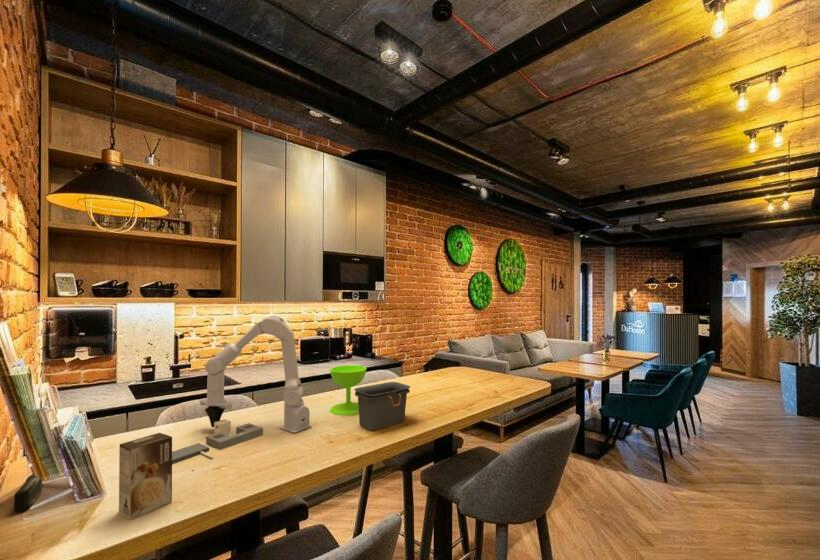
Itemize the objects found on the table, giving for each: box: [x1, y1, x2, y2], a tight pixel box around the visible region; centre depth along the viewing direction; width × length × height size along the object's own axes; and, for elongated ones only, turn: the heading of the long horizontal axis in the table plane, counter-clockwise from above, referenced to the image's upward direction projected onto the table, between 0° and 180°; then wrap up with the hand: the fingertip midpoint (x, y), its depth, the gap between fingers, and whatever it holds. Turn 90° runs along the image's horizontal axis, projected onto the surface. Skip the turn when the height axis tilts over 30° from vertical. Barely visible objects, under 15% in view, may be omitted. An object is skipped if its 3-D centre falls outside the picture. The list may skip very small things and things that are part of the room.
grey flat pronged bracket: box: [172, 442, 214, 465], centre depth 117 cm, size 14×13×1 cm
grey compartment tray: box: [205, 422, 264, 450], centre depth 132 cm, size 9×16×2 cm, turn 146°
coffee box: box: [118, 432, 173, 520], centre depth 91 cm, size 9×6×16 cm
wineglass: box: [329, 364, 367, 416], centre depth 166 cm, size 16×16×18 cm
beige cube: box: [213, 419, 232, 435], centre depth 137 cm, size 4×4×4 cm
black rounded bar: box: [13, 473, 44, 513], centre depth 94 cm, size 5×3×15 cm
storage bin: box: [353, 381, 411, 431], centre depth 147 cm, size 21×16×14 cm
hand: (215, 426), depth 140 cm, fingers closed
